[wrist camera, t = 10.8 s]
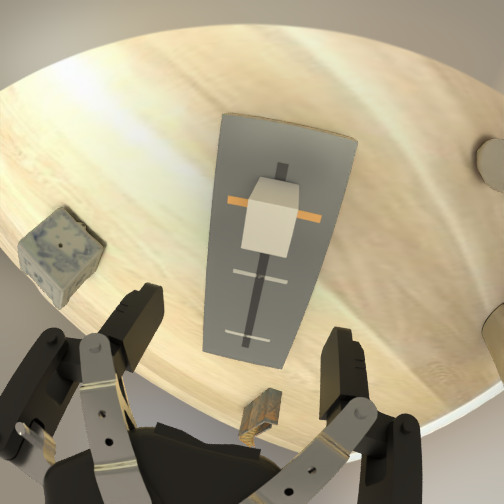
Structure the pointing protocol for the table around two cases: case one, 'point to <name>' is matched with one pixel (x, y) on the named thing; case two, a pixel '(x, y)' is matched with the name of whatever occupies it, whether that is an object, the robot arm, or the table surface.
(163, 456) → the robot arm
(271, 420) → the rusty notched block
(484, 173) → the salt shaker
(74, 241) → the incense holder
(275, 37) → the table surface
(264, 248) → the fader knob
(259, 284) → the fader console
